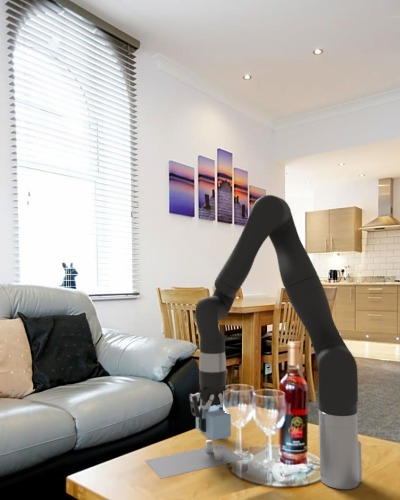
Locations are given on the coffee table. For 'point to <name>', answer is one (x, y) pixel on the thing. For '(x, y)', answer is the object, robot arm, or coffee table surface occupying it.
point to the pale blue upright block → (216, 423)
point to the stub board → (192, 460)
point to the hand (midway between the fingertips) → (213, 429)
